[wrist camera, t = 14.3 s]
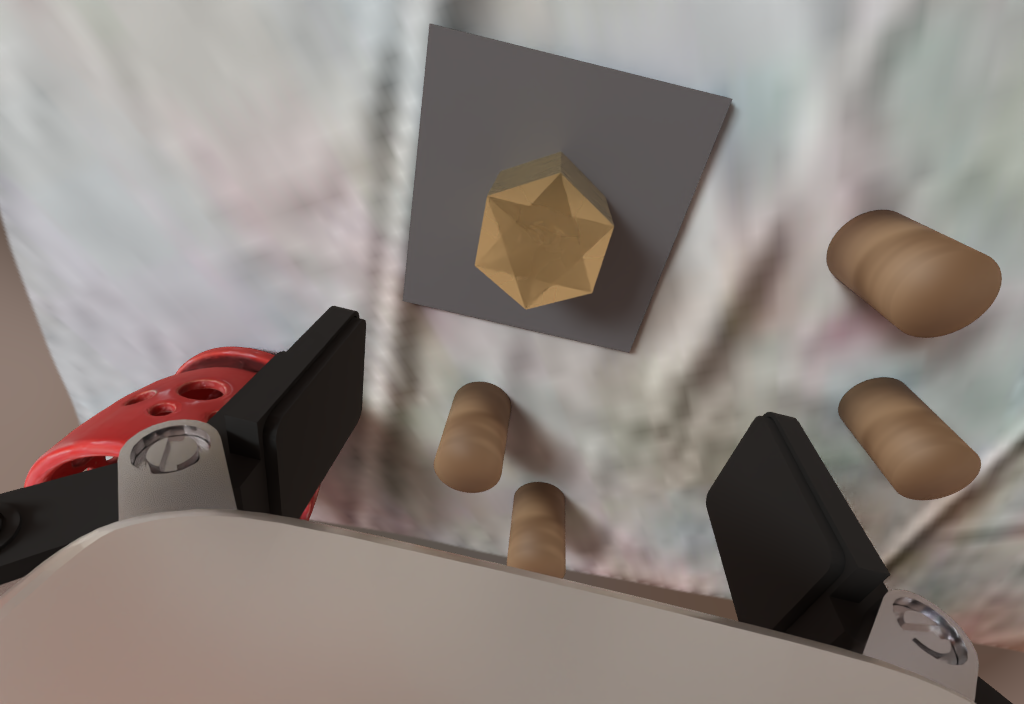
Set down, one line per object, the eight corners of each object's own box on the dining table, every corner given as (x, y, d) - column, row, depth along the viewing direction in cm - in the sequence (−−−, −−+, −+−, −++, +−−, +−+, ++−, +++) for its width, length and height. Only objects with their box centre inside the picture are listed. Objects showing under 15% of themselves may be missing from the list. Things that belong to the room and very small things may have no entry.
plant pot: (359, 481, 38) (286, 635, 28) (196, 449, 38) (63, 593, 28) (360, 344, 32) (264, 483, 21) (161, 305, 31) (-32, 425, 21)
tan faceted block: (506, 138, 24) (494, 156, 19) (615, 164, 24) (626, 188, 20) (483, 258, 27) (469, 296, 23) (579, 280, 27) (582, 322, 23)
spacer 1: (516, 389, 32) (507, 451, 27) (504, 432, 34) (494, 498, 29) (458, 376, 32) (438, 436, 27) (449, 420, 34) (430, 484, 29)
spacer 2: (571, 488, 37) (572, 558, 32) (557, 521, 39) (557, 592, 34) (520, 477, 37) (513, 545, 31) (509, 511, 39) (501, 580, 34)
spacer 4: (924, 385, 29) (999, 454, 24) (884, 433, 31) (945, 506, 26) (861, 371, 29) (924, 437, 24) (825, 420, 31) (876, 491, 26)
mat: (728, 98, 22) (732, 99, 22) (627, 347, 30) (629, 352, 29) (432, 24, 22) (429, 23, 21) (405, 296, 29) (402, 300, 29)
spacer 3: (929, 220, 24) (1025, 263, 19) (881, 290, 26) (956, 346, 21) (854, 201, 24) (931, 240, 19) (811, 273, 26) (871, 326, 21)
